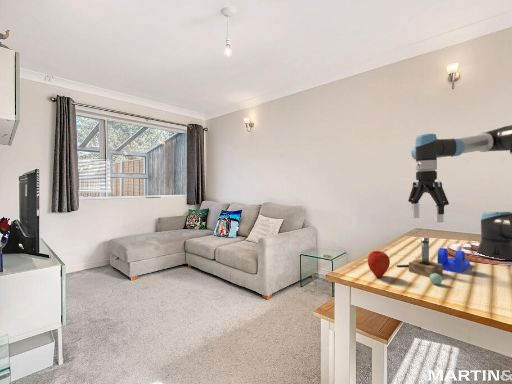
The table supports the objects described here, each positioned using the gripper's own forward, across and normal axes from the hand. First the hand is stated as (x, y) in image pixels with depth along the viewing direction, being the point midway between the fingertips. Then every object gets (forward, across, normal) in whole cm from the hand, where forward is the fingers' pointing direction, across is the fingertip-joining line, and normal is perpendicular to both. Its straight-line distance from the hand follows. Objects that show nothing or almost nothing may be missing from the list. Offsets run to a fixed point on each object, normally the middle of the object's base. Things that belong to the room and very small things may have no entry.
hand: (427, 220), depth 110 cm
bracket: (+23, -4, +17) cm, 29 cm away
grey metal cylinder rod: (+23, +1, -2) cm, 23 cm away
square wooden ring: (+23, +1, -2) cm, 23 cm away
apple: (+23, +3, -24) cm, 33 cm away
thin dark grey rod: (+23, -8, -2) cm, 24 cm away
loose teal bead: (+22, +13, -7) cm, 27 cm away
